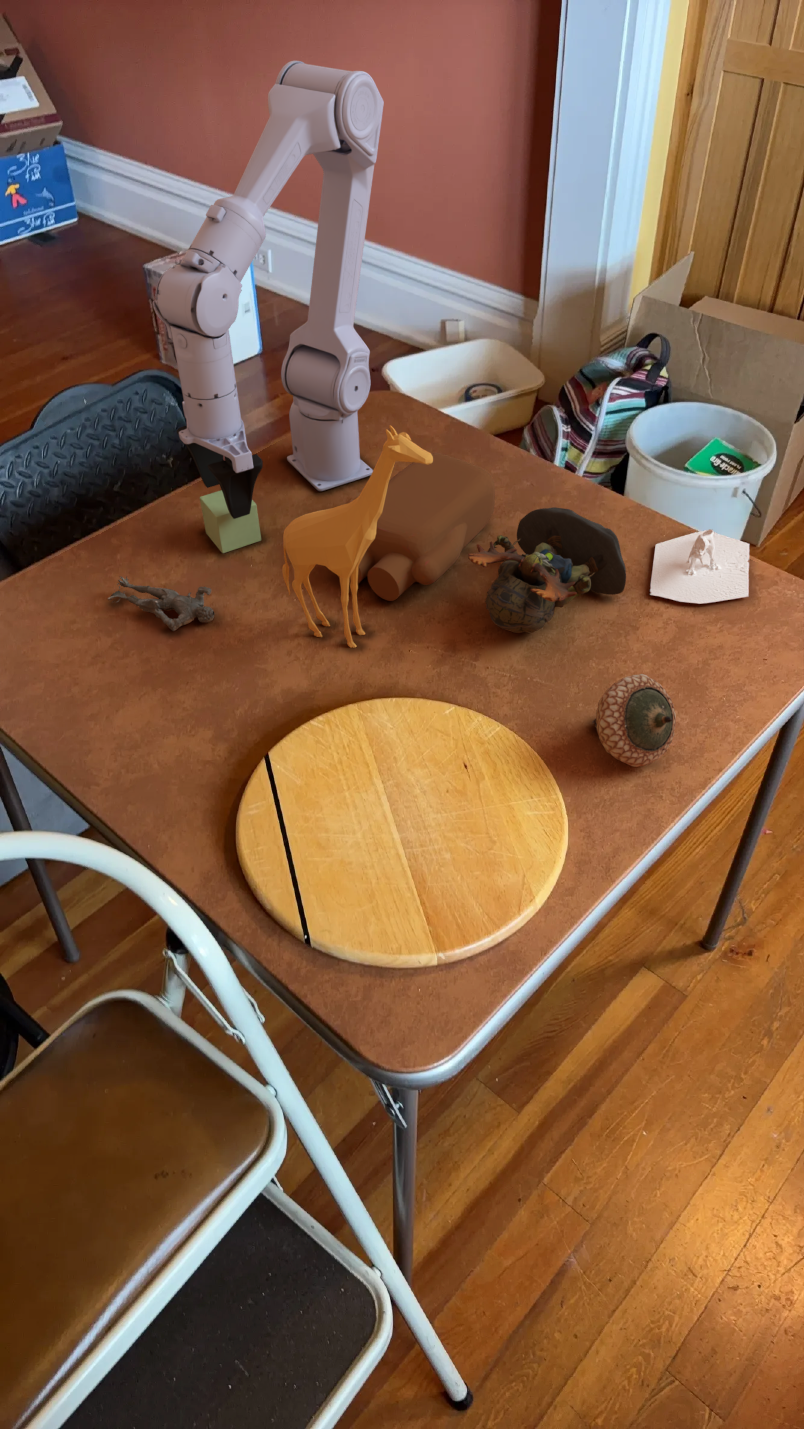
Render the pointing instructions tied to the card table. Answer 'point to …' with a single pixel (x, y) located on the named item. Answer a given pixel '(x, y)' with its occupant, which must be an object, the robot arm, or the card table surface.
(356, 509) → the giraffe
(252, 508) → the felt cube
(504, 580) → the figurine
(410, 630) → the card table surface
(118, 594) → the figurine
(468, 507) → the toy
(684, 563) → the dinosaur figurine
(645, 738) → the acorn
